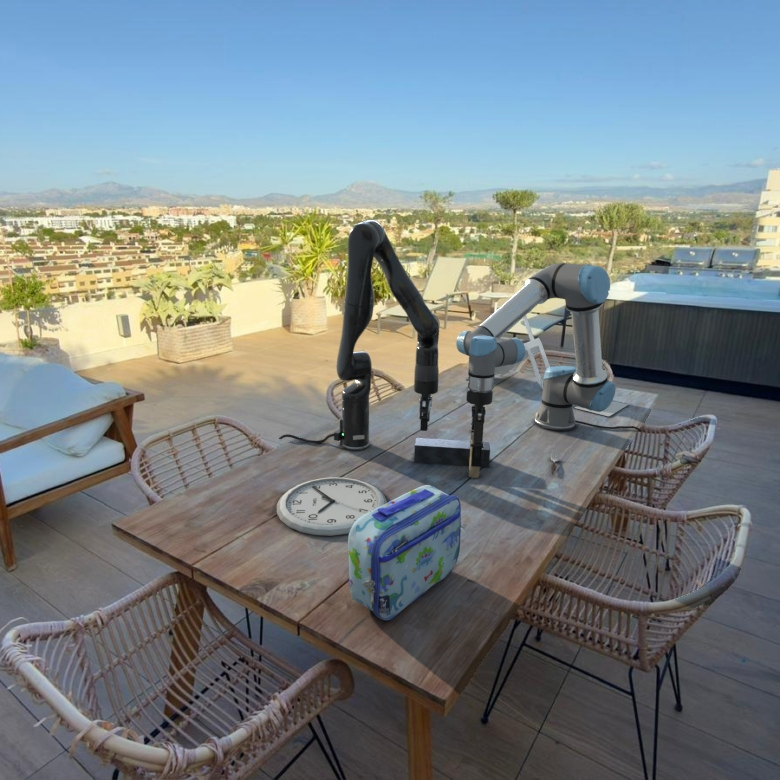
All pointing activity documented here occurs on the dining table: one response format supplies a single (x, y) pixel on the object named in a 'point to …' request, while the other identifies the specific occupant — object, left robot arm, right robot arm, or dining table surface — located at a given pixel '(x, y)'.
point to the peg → (472, 470)
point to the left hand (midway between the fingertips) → (424, 425)
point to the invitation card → (607, 409)
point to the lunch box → (403, 549)
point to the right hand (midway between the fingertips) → (475, 458)
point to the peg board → (447, 452)
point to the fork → (554, 461)
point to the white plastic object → (530, 349)
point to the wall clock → (328, 505)
